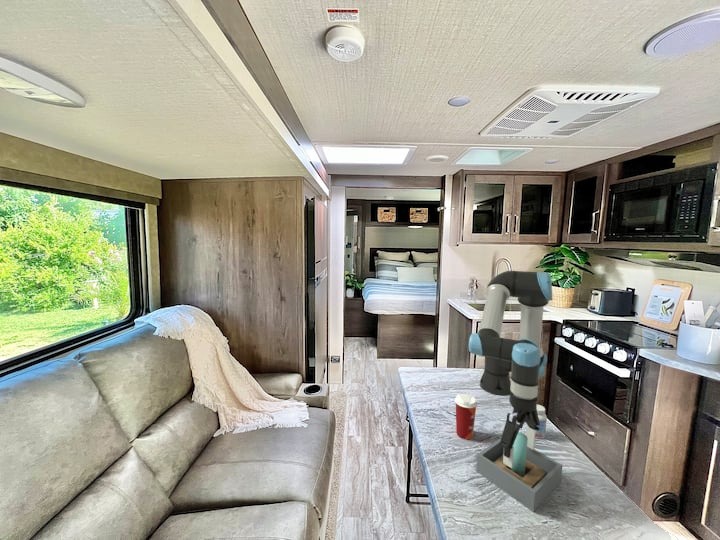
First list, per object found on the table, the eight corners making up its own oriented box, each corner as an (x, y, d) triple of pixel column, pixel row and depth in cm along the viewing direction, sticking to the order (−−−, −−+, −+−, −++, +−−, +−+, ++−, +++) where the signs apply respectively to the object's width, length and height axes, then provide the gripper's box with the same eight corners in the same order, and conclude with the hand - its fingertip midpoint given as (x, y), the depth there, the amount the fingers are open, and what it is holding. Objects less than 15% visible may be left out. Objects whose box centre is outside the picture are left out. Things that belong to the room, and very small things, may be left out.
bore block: (509, 457, 105) (509, 449, 104) (546, 480, 95) (546, 471, 95) (490, 472, 98) (490, 464, 98) (527, 499, 88) (528, 490, 88)
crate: (505, 449, 109) (506, 433, 108) (560, 482, 94) (562, 464, 94) (476, 471, 99) (477, 454, 98) (533, 512, 84) (534, 492, 83)
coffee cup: (477, 443, 112) (479, 405, 110) (454, 440, 114) (456, 403, 112) (473, 429, 120) (475, 393, 119) (452, 426, 122) (453, 391, 120)
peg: (514, 469, 99) (517, 430, 98) (527, 477, 96) (530, 437, 94) (508, 475, 97) (510, 435, 95) (520, 483, 94) (523, 442, 92)
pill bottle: (525, 434, 117) (527, 407, 116) (529, 427, 122) (531, 401, 120) (543, 441, 113) (545, 413, 112) (546, 433, 117) (549, 407, 116)
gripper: (530, 377, 103) (526, 434, 106) (489, 401, 89) (486, 465, 92) (554, 386, 97) (549, 446, 100) (514, 413, 83) (510, 482, 86)
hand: (519, 455), depth 96 cm, fingers open, 13 cm apart
